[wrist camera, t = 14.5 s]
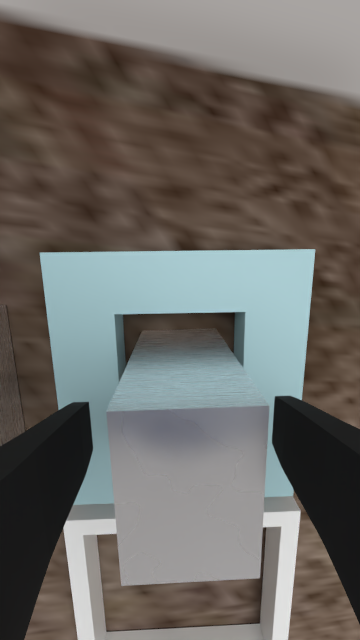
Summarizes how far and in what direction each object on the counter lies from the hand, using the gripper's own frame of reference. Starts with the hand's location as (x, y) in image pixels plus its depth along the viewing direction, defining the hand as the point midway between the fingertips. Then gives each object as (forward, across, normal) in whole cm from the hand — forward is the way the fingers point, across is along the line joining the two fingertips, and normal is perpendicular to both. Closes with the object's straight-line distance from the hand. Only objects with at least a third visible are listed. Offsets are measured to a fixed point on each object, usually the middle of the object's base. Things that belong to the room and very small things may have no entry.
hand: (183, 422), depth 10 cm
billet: (+5, 0, 0) cm, 5 cm away
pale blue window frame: (+5, 0, 0) cm, 5 cm away
